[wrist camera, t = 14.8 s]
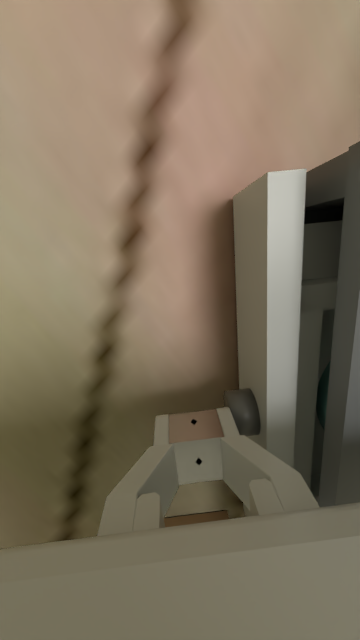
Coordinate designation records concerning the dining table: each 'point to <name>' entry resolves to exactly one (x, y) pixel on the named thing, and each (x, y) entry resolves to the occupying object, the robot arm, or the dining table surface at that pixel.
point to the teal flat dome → (322, 396)
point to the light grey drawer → (283, 319)
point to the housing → (341, 326)
